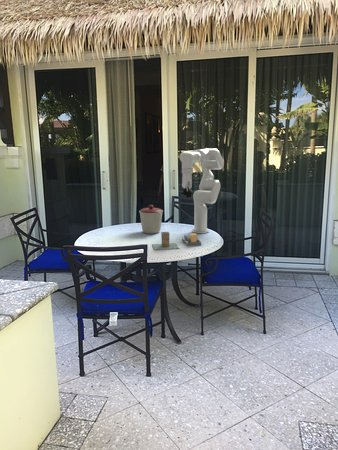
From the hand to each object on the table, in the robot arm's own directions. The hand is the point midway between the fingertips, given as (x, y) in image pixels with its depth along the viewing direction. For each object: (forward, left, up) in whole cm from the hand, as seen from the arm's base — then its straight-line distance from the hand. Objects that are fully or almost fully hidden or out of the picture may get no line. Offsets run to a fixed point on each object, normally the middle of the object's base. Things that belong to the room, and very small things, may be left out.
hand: (187, 196), depth 246 cm
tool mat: (+17, -18, -30) cm, 39 cm away
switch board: (+10, +1, -30) cm, 32 cm away
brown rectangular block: (+17, -18, -30) cm, 39 cm away
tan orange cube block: (+14, +1, -28) cm, 32 cm away
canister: (-25, -22, -31) cm, 45 cm away
